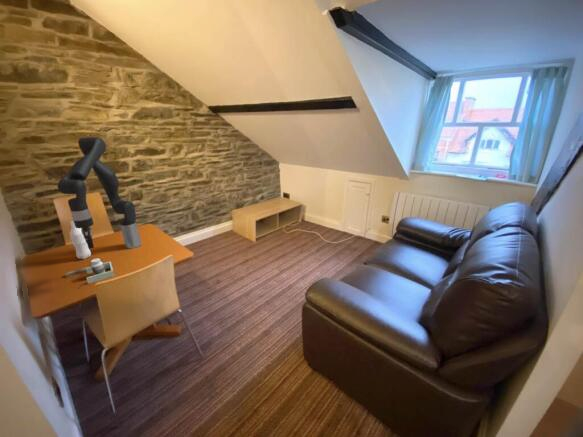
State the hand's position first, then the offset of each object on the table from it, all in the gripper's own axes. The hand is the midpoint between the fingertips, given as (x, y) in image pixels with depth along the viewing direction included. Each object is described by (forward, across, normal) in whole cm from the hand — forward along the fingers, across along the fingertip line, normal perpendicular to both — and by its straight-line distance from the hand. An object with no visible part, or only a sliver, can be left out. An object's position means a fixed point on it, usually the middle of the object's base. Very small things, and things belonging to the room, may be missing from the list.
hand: (91, 245), depth 131 cm
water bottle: (+20, +29, +6) cm, 36 cm away
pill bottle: (+19, 0, 0) cm, 19 cm away
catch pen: (+19, 0, 0) cm, 19 cm away
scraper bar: (+19, +9, +9) cm, 23 cm away
